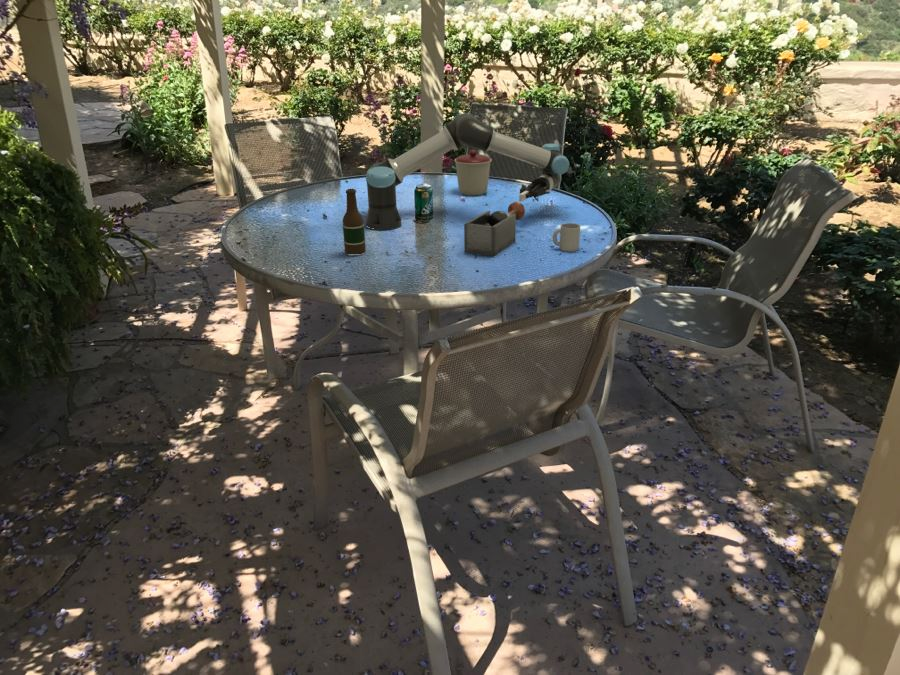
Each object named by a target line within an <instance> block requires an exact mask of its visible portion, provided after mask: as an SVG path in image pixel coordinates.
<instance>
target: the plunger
mask: <svg viewBox="0 0 900 675" xmlns="http://www.w3.org/2000/svg"><path fill="white" fill-rule="evenodd" d="M525 213H526V209H525V206H524V204H522V203H521V202H520V201H519V202H518V201H514V202H511V203H510V204H509V206H508V207H507V213H506V212H504V211H502V210H497V211H494V212H492V213H490V215H491V216H490V218H489V224H490V226H494V225H496V224H497V223H499V222H501V221H502V220H504V219H505V218H507V217H509V216H510V215H512V214H516V221H517V220H520V219H522V218H524V216H525Z"/></svg>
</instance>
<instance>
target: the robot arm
mask: <svg viewBox="0 0 900 675" xmlns="http://www.w3.org/2000/svg"><path fill="white" fill-rule="evenodd" d="M477 118H478V117H476V116H475V115H474V114H470V113H466V112H465V113H463V112H462V113H460V114H457V115H456V116H455V117H454V118H453V119H452V120H451V121H450V122H448V123H446V124H445V125H443V128H442V131H439V132H438V133H436V134H434V135H433V136H432V137H430V138H428V139H426V140H425V141H423V142H421V143H419V144H418V145H416V146H414V147H413V148H411V149H409V150H407V151H406V152H404V153H402V154H401V155H399V156H397V157H396V158H394V159H393V158H387V159H384V160H383V161H382V162H378V163H374V164H372V165H371V166H370V167H369V168H368V170H367V171H366V176H365V182H366V188H367V189H366V190H367V203H368V209H367V213H366V216H365V223H364V224H365V227H366V226H368V227H370V228H374V229H390V230H393V229H392V228H395V229H398V228H400V227H401V226H402V224H403V223H402V217H401V214H400V212H399V210H398V207H397V206H398V205H397V191H396V190H397V188H396V187H397V186H398V185H400V184H403V181H404V178H406V177H407V176H408V175H410V174H413V173H414V172H416V171H418V170H419V169H421V168H422V167H424V166H425V165H428V164H430V163H431V162H432V161H434V160H437V159H438V158H439V157H442V156H443V155H446V153H448V152H450V151H452V150H455V151H459V150H461V149H462V148H464V147H468V148H472V149H476V150H480V151H484V152H488V151H492V152H494V153H498V154H500V155H502V156H507V157H508V158H509V157H510V158H512V159H515V160H518V161H522V162H524V163H527V164H530V165H533V166H536V167H539V168H541V175H540V176H538V177H536V178H534V179H533V180H532V181H531V183H530V184H528V185H527V186H526V185H525V184H521V188H519V194H518V201H519V202H524V201H526V200H528V199H530V198H539V197H541V196H544V195H548V194H550V193H551V192H550V191H552V190H553V189H556V188H557V187H558V186H559V185H560V184H561V182H562V175H563V174H565V173H567V172H568V170H569V168H570V161H569V159H568V158H567V157H566V156H565V155H563V154H561V150H560V149H561V148H560V147H561V146H560V144H558V143H545V144H543V145H542V147H540V146H537V145H534V144H532V143H529V142H527V141H522V140H519V139H517V138H514V137H511V136H508V135H506V134H502V133H500V132H498V131H495V128H493V127H490V126H488V125H486V124H484V123H483V122H481V121H480V120H479V119H477ZM397 227H398V228H397Z"/></svg>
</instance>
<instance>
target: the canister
mask: <svg viewBox="0 0 900 675" xmlns="http://www.w3.org/2000/svg"><path fill="white" fill-rule="evenodd" d="M468 153H469V154H462V155H459V156H457V157H455V159H454V161H453V162H455V168H456V169H455V170H456V177H457V184H458V190H459V192H460V193H461V194H462V195H463V194H464V196H468V195H470V196H471V197H474V196H475V197H476V195H478V196H481V195H485V194H486V193H487V190H488V185H489V179H490V169H491V162H492V161H493V159H492V158H490V157H489V156H488V155H485V154H477V149H476V150H475V149H470V150H469V152H468Z"/></svg>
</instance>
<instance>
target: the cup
mask: <svg viewBox="0 0 900 675" xmlns="http://www.w3.org/2000/svg"><path fill="white" fill-rule="evenodd" d="M558 234H560V235H559V241H558ZM580 235H581V225H580V224H579V223H573V222H565V223H562V224H560V227H559V228H557V229H555V230H554V231H553V234H552V242H553V244H554V245H555V246H557V247H559V249H560V250H561V251H562V250H563V252H567V251H568V252H570V253H572V252H577V251H578V250H579V249H580V238H581V237H580Z"/></svg>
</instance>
